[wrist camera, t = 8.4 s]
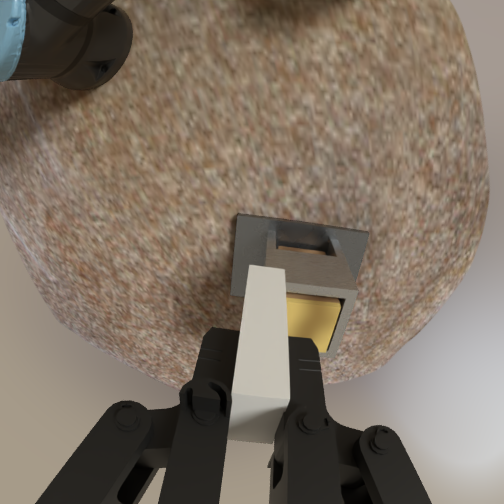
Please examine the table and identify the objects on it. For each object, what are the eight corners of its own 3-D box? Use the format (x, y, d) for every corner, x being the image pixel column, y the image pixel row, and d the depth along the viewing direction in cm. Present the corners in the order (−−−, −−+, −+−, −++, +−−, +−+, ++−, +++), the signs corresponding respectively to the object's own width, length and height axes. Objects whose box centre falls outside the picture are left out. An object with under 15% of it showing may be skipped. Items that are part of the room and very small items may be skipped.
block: (272, 285, 48) (269, 347, 36) (278, 245, 45) (278, 300, 33) (315, 291, 48) (325, 352, 36) (324, 251, 45) (340, 307, 33)
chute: (231, 291, 52) (216, 354, 38) (238, 213, 46) (221, 259, 32) (345, 305, 51) (363, 368, 38) (367, 231, 45) (399, 282, 32)
